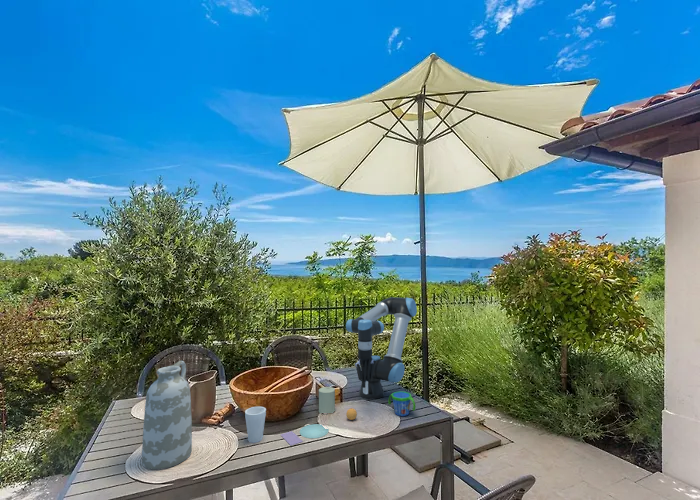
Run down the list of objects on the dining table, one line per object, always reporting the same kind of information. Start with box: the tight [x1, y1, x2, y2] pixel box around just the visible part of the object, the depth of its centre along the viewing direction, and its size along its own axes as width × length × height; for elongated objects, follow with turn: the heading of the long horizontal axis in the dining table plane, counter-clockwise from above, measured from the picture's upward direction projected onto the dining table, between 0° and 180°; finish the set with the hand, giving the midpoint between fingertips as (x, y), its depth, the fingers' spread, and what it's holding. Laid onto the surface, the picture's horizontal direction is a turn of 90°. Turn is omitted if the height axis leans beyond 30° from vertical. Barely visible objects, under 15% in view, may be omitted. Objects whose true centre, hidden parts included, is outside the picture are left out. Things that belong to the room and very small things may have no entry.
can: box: [318, 386, 336, 414], centre depth 189 cm, size 9×9×12 cm
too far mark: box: [280, 430, 304, 446], centre depth 158 cm, size 6×12×1 cm, turn 34°
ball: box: [346, 408, 358, 421], centre depth 177 cm, size 6×6×6 cm
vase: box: [141, 360, 193, 471], centre depth 145 cm, size 20×19×38 cm
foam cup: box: [244, 406, 267, 443], centre depth 158 cm, size 10×9×13 cm
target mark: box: [299, 423, 329, 439], centre depth 165 cm, size 14×14×1 cm
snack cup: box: [387, 390, 416, 417], centre depth 184 cm, size 16×10×10 cm
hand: (365, 393), depth 183 cm, fingers closed
